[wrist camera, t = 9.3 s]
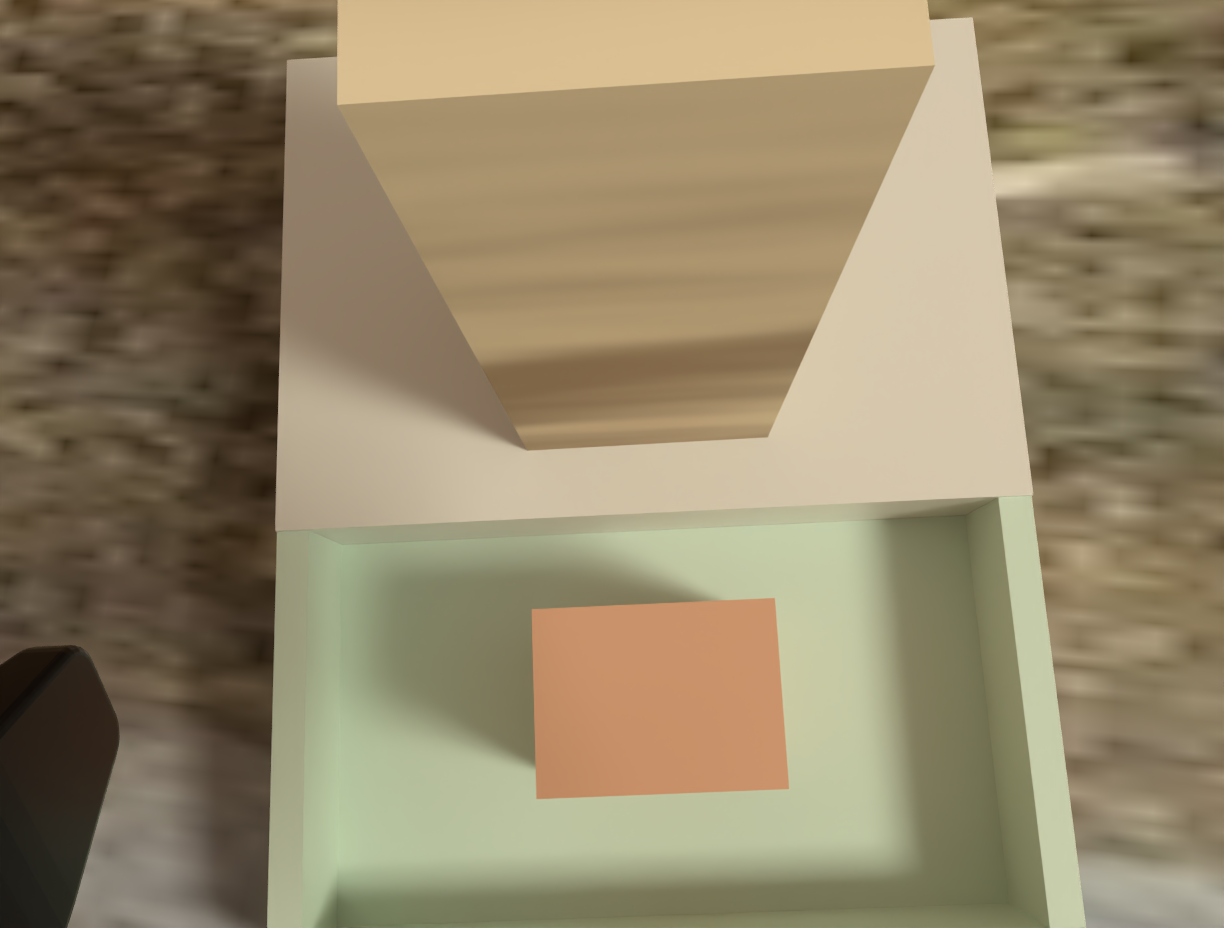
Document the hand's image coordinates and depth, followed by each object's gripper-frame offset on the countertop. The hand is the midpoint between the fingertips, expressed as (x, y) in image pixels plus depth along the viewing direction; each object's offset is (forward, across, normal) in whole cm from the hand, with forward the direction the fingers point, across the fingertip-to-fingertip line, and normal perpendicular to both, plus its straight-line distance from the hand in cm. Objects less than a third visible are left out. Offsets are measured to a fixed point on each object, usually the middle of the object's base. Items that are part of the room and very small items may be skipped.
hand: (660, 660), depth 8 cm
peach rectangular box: (+9, 0, +7) cm, 11 cm away
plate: (+15, 0, +4) cm, 15 cm away
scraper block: (+12, 0, +3) cm, 13 cm away
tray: (+9, 0, +10) cm, 13 cm away
